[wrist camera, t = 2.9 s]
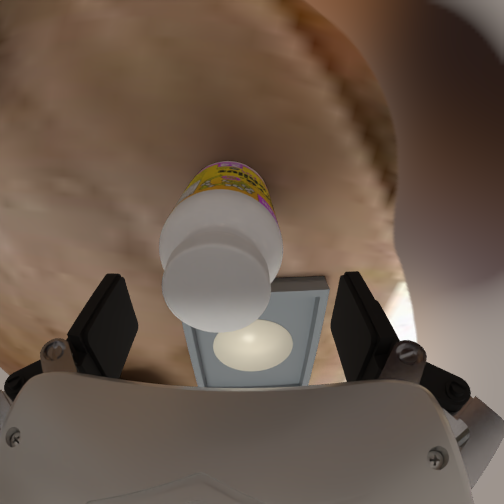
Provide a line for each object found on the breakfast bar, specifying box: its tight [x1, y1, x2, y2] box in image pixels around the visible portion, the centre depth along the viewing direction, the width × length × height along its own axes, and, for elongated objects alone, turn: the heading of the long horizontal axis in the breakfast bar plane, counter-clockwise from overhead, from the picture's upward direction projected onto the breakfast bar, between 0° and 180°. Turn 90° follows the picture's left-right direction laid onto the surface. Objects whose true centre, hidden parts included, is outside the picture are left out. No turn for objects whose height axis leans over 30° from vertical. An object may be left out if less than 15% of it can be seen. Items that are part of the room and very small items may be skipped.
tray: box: [182, 276, 330, 388], centre depth 30 cm, size 18×14×2 cm
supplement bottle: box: [159, 161, 283, 333], centre depth 17 cm, size 7×7×13 cm
